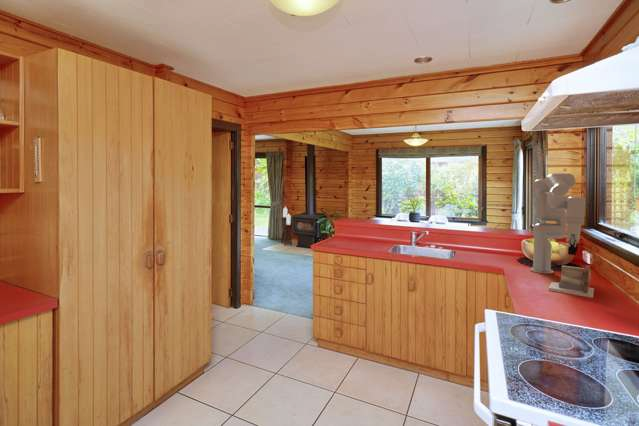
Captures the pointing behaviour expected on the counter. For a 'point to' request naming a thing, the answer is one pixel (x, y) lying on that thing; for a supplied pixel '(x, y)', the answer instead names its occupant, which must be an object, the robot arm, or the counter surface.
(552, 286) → the white tile with rails
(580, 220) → the robot arm
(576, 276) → the beige rectangular block
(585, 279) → the cabinet side
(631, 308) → the counter surface
